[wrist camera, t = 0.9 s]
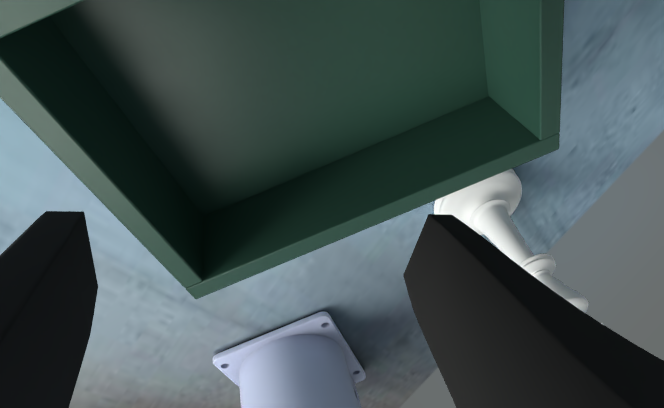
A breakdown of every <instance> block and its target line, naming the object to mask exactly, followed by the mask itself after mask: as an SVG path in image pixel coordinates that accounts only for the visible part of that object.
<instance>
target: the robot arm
mask: <svg viewBox="0 0 664 408" xmlns="http://www.w3.org/2000/svg"><path fill="white" fill-rule="evenodd" d="M404 279H405V283H406V286H407V290H408V294H409V297H410V300H411V303H412V307H413V310H414V313H415V315H416V318H417V320H418V323H419V325H420V327H421V329H422V332H423V334H424V336H425V339H426V341H427V343H428V345H429V348H430V350H431V352H432V354H433V356H434V359H435V361H436V363H437V365H438V367H439V369H440V372H441V374H442V376H443V378H444V381H445V383H446V385H447V387H448V389H449V392H450V394H451V396H452V398H453V401H454V403H455V405H456V408H664V361H663V360H661V359H659V358H658V357H656V356H654V355H652V354H650V353H649V352H647V351H645V350H644V349H642V348H640V347H638V346H637V345H635V344H633V343H632V342H630V341H628V340H627V339H625V338H624V337H622V336H620V335H619V334H617V333H616V332H614V331H612V330H611V329H609V328H607V327H606V326H604V325H603V324H601V323H599V322H598V321H596V320H595V319H593V318H592V317H590V316H589V315H587V314H586V313H584V312H583V311H581V310H580V309H578V308H577V307H575V306H574V305H573V304H571V303H570V302H568V301H567V300H566V299H564V298H563V297H561V296H560V295H558V294H557V293H556V292H554V291H553V290H551V289H550V288H549V287H547V286H546V285H545V284H543V283H542V282H540V281H539V280H538V279H536V278H535V277H534V276H532V275H531V274H530V273H528V272H527V271H526V270H525V269H523V268H522V267H521V266H519V265H518V264H517V263H515V262H514V261H513V260H511V259H510V258H509V257H508V256H506V255H505V254H504V253H502V252H501V251H500V250H499V249H497V248H496V247H495V246H493V245H492V244H491V243H490V242H488V241H487V240H486V239H484V238H483V237H482V236H481V235H479V234H478V233H477V232H475V231H474V230H473V229H471V228H470V227H469V226H467V225H466V224H465V223H463V222H462V221H460V220H459V219H457V218H456V217H454V216H453V215H434V214H429V215H428V217H427V220H426V222H425V224H424V227H423V229H422V232H421V234H420V237H419V239H418V241H417V244H416V246H415V249H414V251H413V253H412V256H411V258H410V261H409V263H408V265H407V268H406V270H405V273H404ZM97 289H98V284H97V279H96V274H95V268H94V263H93V258H92V252H91V247H90V242H89V237H88V231H87V226H86V221H85V215H84V212H57V211H46V212H45V213H44V214H43V215H41V216H40V217H39V218H38V219H37V220H36V221H35V222H34V223H33V224H32V225H31V226H30V227H29V228H28V229H27V230H26V231H25V232H24V233H23V234H22V235H21V236H20V237H19V238H18V239H17V240H15V241H14V242H13V243H12V244H11V245H10V246H9V247H8V248H7V249H6V250H5V251H4V252H3V253H2V254H1V255H0V408H69V404H70V401H71V398H72V394H73V391H74V388H75V385H76V381H77V378H78V375H79V371H80V368H81V364H82V361H83V358H84V354H85V351H86V347H87V344H88V340H89V337H90V332H91V326H92V321H93V315H94V309H95V302H96V296H97ZM213 364H214V365H215V366H216V367H217V368H218V369H219V370H220V371H222V372H223V373H224V374H225V375H226V376H227V377H228V378H229V379H231V380H232V381H233V382H234V383H235V384H236V385H237V386H238V387H240V400H241V408H362V407H361V404H360V400H359V396H358V393H357V389H356V386H355V383H357V382H360V381H362V380H364V379H365V378H366V374H365V371H364V369H363V368H362V366H361V365H360V363H359V361H358V360H357V358H356V357H355V355H354V353H353V352H352V350H351V349H350V347H349V345H348V344H347V342H346V341H345V339H344V337H343V336H342V334H341V332H340V331H339V329H338V328H337V326H336V324H335V323H334V321H333V320H332V318H331V316H330V315H329V313H327V312H318V313H316V314H314V315H311V316H309V317H306V318H304V319H301V320H299V321H296V322H294V323H291V324H289V325H287V326H284V327H282V328H279V329H277V330H274V331H272V332H269V333H267V334H264V335H262V336H260V337H257V338H255V339H252V340H250V341H247V342H245V343H242V344H240V345H237V346H235V347H233V348H230V349H228V350H225V351H223V352H220V353H218V354H216V355H215V356H214V357H213Z"/></svg>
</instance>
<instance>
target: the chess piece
mask: <svg viewBox="0 0 664 408" xmlns="http://www.w3.org/2000/svg"><path fill="white" fill-rule="evenodd" d="M521 195H522V185H521V181H520V179H519V178H518V176H517V175H516V173H515V171H514V170H513V169H509V170H507V171H504V172H502V173H500V174H497V175H495V176H492V177H490V178H488V179H485V180H483V181H480V182H478V183H476V184H473V185H471V186H468V187H466V188H463V189H461V190H459V191H456V192H454V193H451V194H449V195H447V196H444V197H442V198H439V199H437V200H436V201H435V205H434V215H453V216H454V217H456V218H457V219H459V220H460V221H462V222H463V223H465V224H466V225H467V226H469V227H470V228H471V229H473V230H474V231H475V232H477V233H478V234H479V235H483V234H484V235H486V236H487V237H488V238H489V239H490V240H491V241H492V242H493V243H494V244H495V245H496V246H497V247H498V248H499V249H500V250H501V251H502V252H503V253H504V254H505V255H506V256H508V257H509V258H510V259H511V260H513V261H514V262H515V263H517V264H518V265H519V266H521V267H522V268H523V269H525V270H526V271H527V272H528V273H530V274H531V275H532V276H534V277H535V278H536V279H538V280H539V281H540V282H542V283H543V284H545V285H546V286H547V287H549V288H550V289H551V290H553V291H554V292H556V293H557V294H558V295H560V296H561V297H563V298H564V299H566V300H567V301H568V302H570V303H571V304H573V305H574V306H575V307H577V308H578V309H580V310H581V311H583V312H584V313H586V311H587V309H588V306H589V303H588V300H587V299H586V298H585V297H584V296H583V295H582V294H580V293H578V292H577V291H575V290H573V289H571V288H570V287H568V286H566V285H565V284H564V283H563V282H561V281H560V280H558V279H556V278H555V277H553V276H552V275H553V273H554V271H555V269H556V263H555V261H554V258H553V257H552V256H551V255H549V254H537V255H534V254H533V253H532V251H531V250H530V248H529V247H528V245H527V244H526V242H525V241H524V239H523V237H522V236H521V234H520V233H519V231H518V229H517V228H516V226H515V224H514V223H513V221H512V219H511V217H510V216H511V215H512V213H513V212H514V211H515V209H516V208H517V206H518V204H519V202H520V199H521ZM601 324H603V323H601ZM603 325H604V324H603Z"/></svg>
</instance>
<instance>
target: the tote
mask: <svg viewBox="0 0 664 408" xmlns="http://www.w3.org/2000/svg"><path fill="white" fill-rule="evenodd" d="M563 23H564V0H0V98H1V99H2V100H3V101H4V102H5V103H6V104H7V105H8V106H9V107H10V108H11V109H12V110H13V111H14V112H15V113H16V114H17V115H18V116H19V118H20V119H21V120H22V121H23V122H24V123H25V124H26V125H27V126H28V127H29V128H30V129H31V130H32V131H33V132H34V133H35V134H36V135H37V136H38V137H39V138H40V139H41V140H42V141H43V142H44V143H45V144H46V145H47V146H48V147H49V148H50V149H51V151H52V152H53V153H54V154H55V155H56V156H57V157H58V158H59V159H60V160H61V161H62V162H63V163H64V164H65V165H66V166H67V167H68V168H69V169H70V170H71V171H72V172H73V173H74V174H75V175H76V176H77V177H78V178H79V179H80V180H81V181H82V182H83V183H84V185H85V186H86V187H87V188H88V189H89V190H90V191H91V192H92V193H93V194H94V195H95V196H96V197H97V198H98V199H99V200H100V201H101V202H102V203H103V204H104V205H105V206H106V207H107V208H108V209H109V210H110V211H111V212H112V213H113V214H114V215H115V216H116V218H117V219H118V220H119V221H120V222H121V223H122V224H123V225H124V226H125V227H126V228H127V229H128V230H129V231H130V232H131V233H132V234H133V235H134V236H135V237H136V238H137V239H138V240H139V241H140V242H141V243H142V244H143V245H144V246H145V247H146V248H147V249H148V251H149V252H150V253H151V254H152V255H153V256H154V257H155V258H156V259H157V260H158V261H159V262H160V263H161V264H162V265H163V266H164V267H165V268H166V269H167V270H168V271H169V272H170V273H171V274H172V275H173V276H174V277H175V278H176V279H177V280H178V281H179V282H180V283H181V285H182V286H183V287H185V288H186V290H187V291H188V292H189V293H190V294H191V295H192V296H193V297H194V298H195V299H198V298H200V297H203V296H205V295H208V294H210V293H213V292H215V291H217V290H220V289H222V288H225V287H227V286H229V285H232V284H234V283H237V282H239V281H241V280H244V279H246V278H249V277H251V276H254V275H256V274H258V273H261V272H263V271H266V270H268V269H270V268H273V267H275V266H278V265H280V264H282V263H285V262H287V261H290V260H292V259H295V258H297V257H299V256H302V255H304V254H307V253H309V252H311V251H314V250H316V249H319V248H321V247H324V246H326V245H328V244H331V243H333V242H336V241H338V240H340V239H343V238H345V237H348V236H350V235H352V234H355V233H357V232H360V231H362V230H365V229H367V228H369V227H372V226H374V225H377V224H379V223H381V222H384V221H386V220H389V219H391V218H393V217H396V216H398V215H401V214H403V213H406V212H408V211H410V210H413V209H415V208H418V207H420V206H422V205H425V204H427V203H430V202H432V201H434V200H437V199H439V198H442V197H444V196H447V195H449V194H451V193H454V192H456V191H459V190H461V189H463V188H466V187H468V186H471V185H473V184H476V183H478V182H480V181H483V180H485V179H488V178H490V177H492V176H495V175H497V174H500V173H502V172H504V171H507V170H509V169H512V168H514V167H517V166H519V165H521V164H524V163H526V162H529V161H531V160H533V159H536V158H538V157H541V156H543V155H545V154H548V153H550V152H553V151H555V150H558V149H559V136H560V134H559V132H560V108H561V79H562V51H563Z"/></svg>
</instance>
